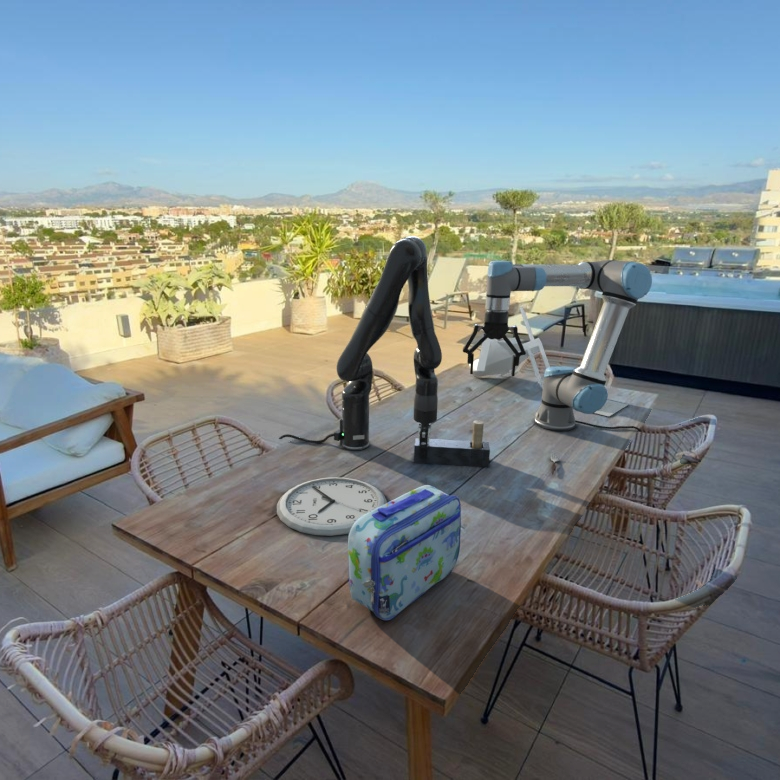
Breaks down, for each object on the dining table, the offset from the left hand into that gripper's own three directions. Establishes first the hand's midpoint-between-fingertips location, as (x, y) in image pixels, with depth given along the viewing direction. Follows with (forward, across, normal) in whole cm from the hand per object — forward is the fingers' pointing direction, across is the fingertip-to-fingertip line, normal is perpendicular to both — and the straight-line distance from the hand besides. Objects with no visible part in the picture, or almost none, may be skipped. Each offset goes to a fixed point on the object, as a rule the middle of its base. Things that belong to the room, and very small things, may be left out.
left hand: (423, 454), depth 172 cm
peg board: (+2, 0, +9) cm, 9 cm away
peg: (+2, 0, +17) cm, 17 cm away
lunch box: (+2, +66, 0) cm, 66 cm away
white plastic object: (+1, -94, +36) cm, 101 cm away
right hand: (-25, -12, +21) cm, 35 cm away
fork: (+2, -1, +42) cm, 42 cm away
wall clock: (+2, +34, -23) cm, 41 cm away
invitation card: (+1, -65, +73) cm, 98 cm away
